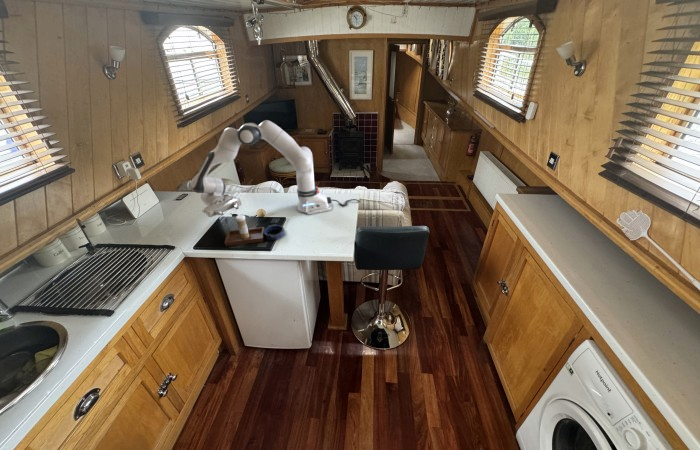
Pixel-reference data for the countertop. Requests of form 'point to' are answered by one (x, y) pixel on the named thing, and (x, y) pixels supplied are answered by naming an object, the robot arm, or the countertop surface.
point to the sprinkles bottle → (242, 226)
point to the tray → (254, 237)
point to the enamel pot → (274, 237)
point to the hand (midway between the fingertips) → (229, 210)
